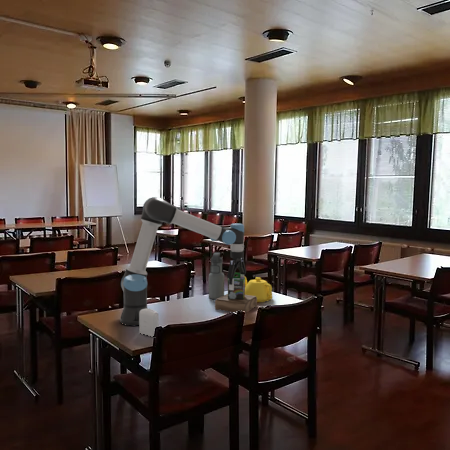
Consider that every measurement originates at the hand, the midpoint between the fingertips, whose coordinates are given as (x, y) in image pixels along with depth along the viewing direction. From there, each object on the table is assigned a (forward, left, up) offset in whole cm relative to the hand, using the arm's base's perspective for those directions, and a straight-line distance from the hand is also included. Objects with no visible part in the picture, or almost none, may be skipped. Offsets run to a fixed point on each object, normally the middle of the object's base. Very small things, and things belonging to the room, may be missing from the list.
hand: (236, 287), depth 262 cm
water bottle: (+15, +21, -12) cm, 28 cm away
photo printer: (-63, +15, -12) cm, 66 cm away
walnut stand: (0, 0, -12) cm, 12 cm away
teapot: (+25, -2, -12) cm, 28 cm away
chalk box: (0, 0, -6) cm, 6 cm away
